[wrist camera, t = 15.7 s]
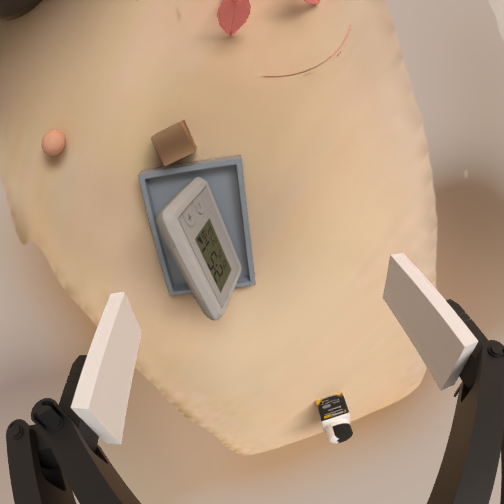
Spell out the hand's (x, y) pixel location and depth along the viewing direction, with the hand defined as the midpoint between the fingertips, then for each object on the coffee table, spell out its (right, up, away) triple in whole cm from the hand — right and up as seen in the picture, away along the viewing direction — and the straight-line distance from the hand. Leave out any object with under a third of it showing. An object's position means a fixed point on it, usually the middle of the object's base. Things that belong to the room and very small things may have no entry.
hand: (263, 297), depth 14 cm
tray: (-8, +6, +29) cm, 31 cm away
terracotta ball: (-27, +18, +20) cm, 38 cm away
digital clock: (-7, +5, +29) cm, 30 cm away
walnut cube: (-10, +17, +23) cm, 30 cm away
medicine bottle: (+20, -37, +57) cm, 70 cm away
